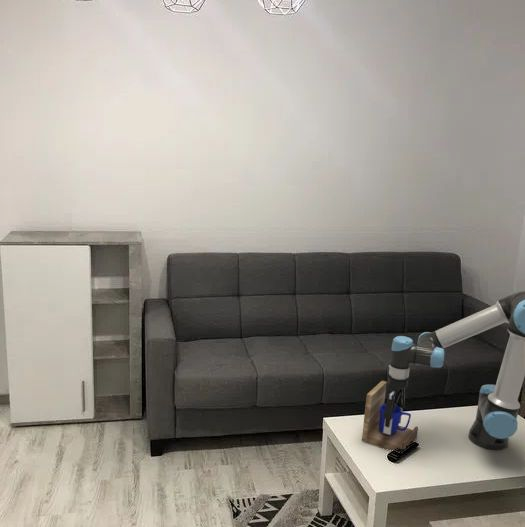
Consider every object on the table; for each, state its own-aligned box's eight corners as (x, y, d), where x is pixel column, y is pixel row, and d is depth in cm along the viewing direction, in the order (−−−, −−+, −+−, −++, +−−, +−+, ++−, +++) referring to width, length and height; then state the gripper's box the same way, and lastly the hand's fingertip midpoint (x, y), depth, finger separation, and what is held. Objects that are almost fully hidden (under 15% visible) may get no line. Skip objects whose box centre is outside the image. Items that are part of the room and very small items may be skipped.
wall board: (381, 426, 253) (386, 382, 249) (366, 442, 240) (371, 395, 235) (376, 425, 254) (382, 380, 250) (361, 441, 241) (366, 394, 236)
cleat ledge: (416, 438, 246) (418, 427, 245) (403, 455, 233) (404, 443, 231) (381, 426, 253) (382, 415, 252) (366, 442, 240) (367, 431, 239)
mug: (407, 440, 238) (411, 416, 236) (376, 434, 240) (379, 410, 238) (407, 430, 246) (411, 407, 243) (377, 424, 248) (380, 402, 246)
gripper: (399, 364, 248) (393, 413, 253) (378, 383, 229) (372, 436, 234) (417, 369, 244) (411, 419, 250) (397, 388, 225) (390, 442, 230)
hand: (392, 427), depth 242 cm, fingers open, 10 cm apart
